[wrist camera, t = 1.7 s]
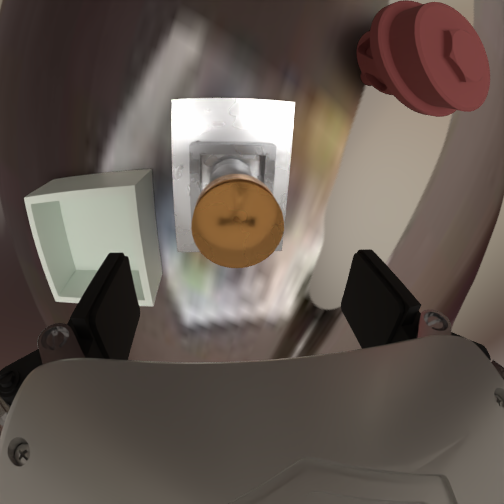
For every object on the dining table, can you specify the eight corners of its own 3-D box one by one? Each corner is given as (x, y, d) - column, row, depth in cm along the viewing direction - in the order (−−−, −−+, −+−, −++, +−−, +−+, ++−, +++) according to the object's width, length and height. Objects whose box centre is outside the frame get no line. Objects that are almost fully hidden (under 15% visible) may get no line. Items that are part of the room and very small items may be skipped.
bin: (53, 179, 22) (23, 197, 17) (151, 168, 23) (134, 185, 18) (74, 272, 28) (55, 301, 23) (162, 272, 29) (153, 306, 24)
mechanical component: (429, 70, 20) (386, 128, 23) (367, 3, 16) (314, 60, 20) (515, 76, 9) (475, 155, 13) (445, -30, 6) (388, 32, 9)
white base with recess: (175, 100, 20) (167, 98, 17) (289, 102, 22) (301, 101, 18) (180, 242, 27) (174, 263, 24) (277, 241, 28) (285, 261, 25)
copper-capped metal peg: (202, 151, 21) (189, 183, 13) (260, 152, 22) (288, 184, 13) (203, 205, 24) (193, 268, 15) (257, 205, 24) (279, 267, 16)
